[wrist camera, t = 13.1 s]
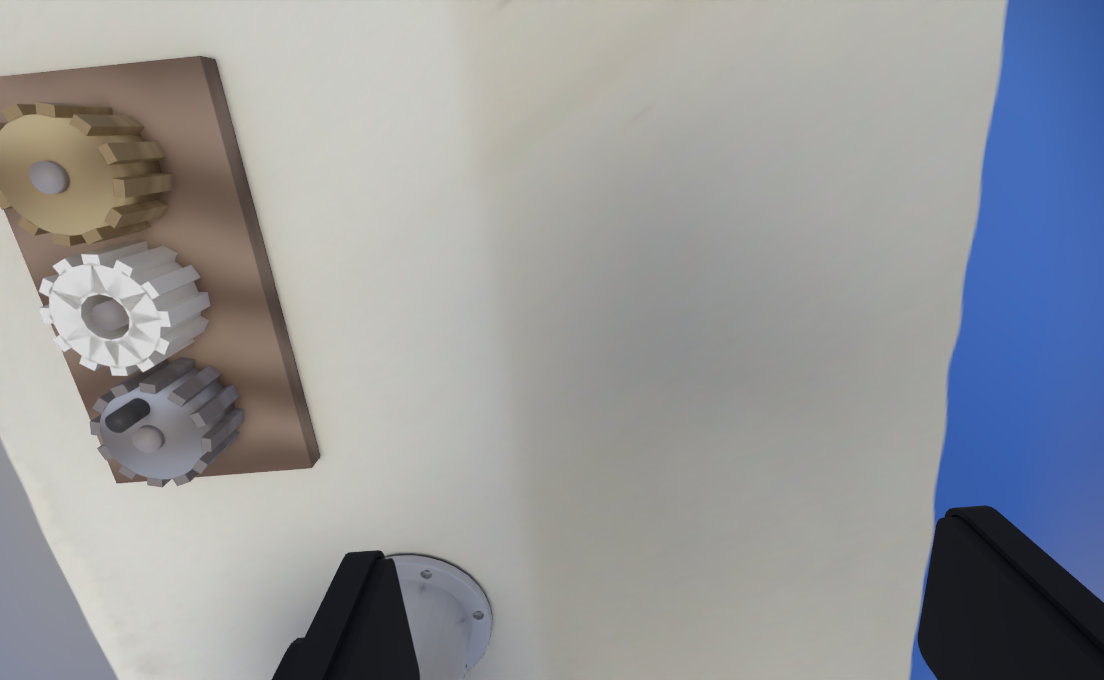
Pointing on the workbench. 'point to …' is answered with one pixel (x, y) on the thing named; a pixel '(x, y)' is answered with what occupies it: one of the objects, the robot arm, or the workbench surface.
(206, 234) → the gear board
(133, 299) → the gear
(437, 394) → the workbench surface
